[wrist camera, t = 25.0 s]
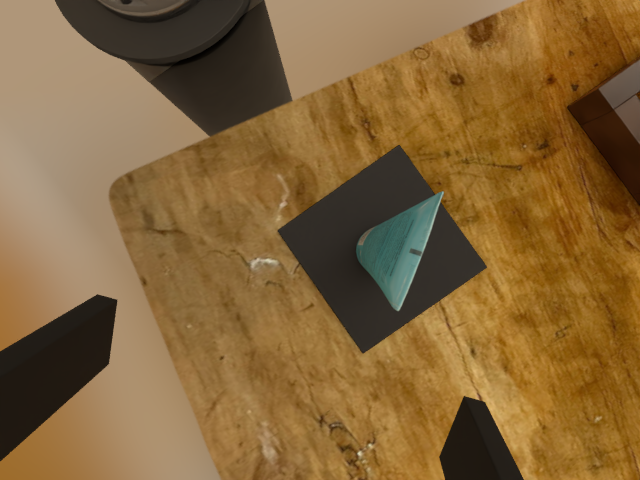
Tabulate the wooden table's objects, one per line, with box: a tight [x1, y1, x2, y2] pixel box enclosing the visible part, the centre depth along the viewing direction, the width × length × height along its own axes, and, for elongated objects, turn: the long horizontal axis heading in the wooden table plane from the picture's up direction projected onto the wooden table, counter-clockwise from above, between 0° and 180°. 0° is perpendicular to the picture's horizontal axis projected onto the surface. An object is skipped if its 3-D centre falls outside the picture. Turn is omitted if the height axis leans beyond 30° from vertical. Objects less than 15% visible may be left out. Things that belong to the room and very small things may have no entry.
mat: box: [278, 145, 487, 353], centre depth 42 cm, size 16×16×1 cm
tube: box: [356, 191, 444, 311], centre depth 33 cm, size 7×5×19 cm, turn 164°
